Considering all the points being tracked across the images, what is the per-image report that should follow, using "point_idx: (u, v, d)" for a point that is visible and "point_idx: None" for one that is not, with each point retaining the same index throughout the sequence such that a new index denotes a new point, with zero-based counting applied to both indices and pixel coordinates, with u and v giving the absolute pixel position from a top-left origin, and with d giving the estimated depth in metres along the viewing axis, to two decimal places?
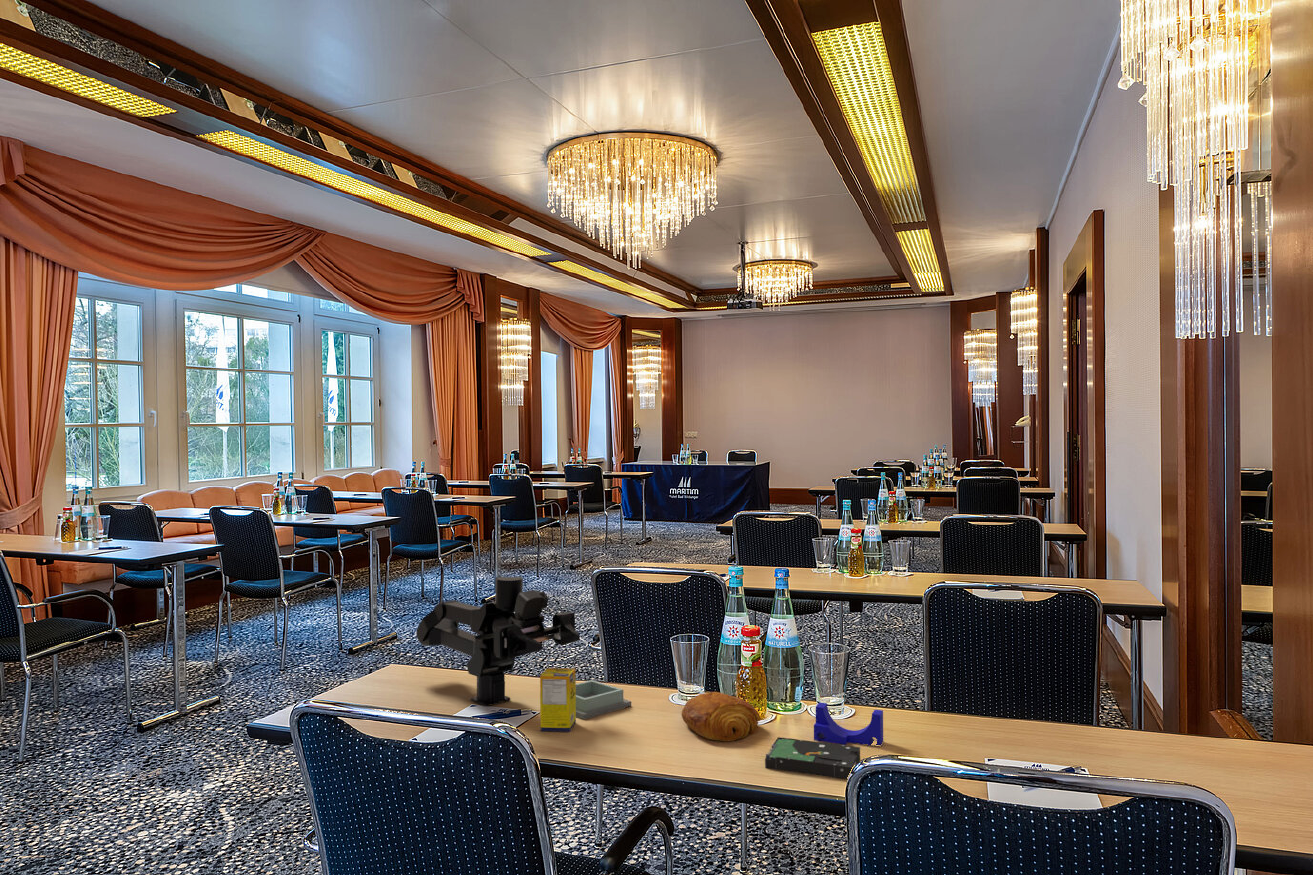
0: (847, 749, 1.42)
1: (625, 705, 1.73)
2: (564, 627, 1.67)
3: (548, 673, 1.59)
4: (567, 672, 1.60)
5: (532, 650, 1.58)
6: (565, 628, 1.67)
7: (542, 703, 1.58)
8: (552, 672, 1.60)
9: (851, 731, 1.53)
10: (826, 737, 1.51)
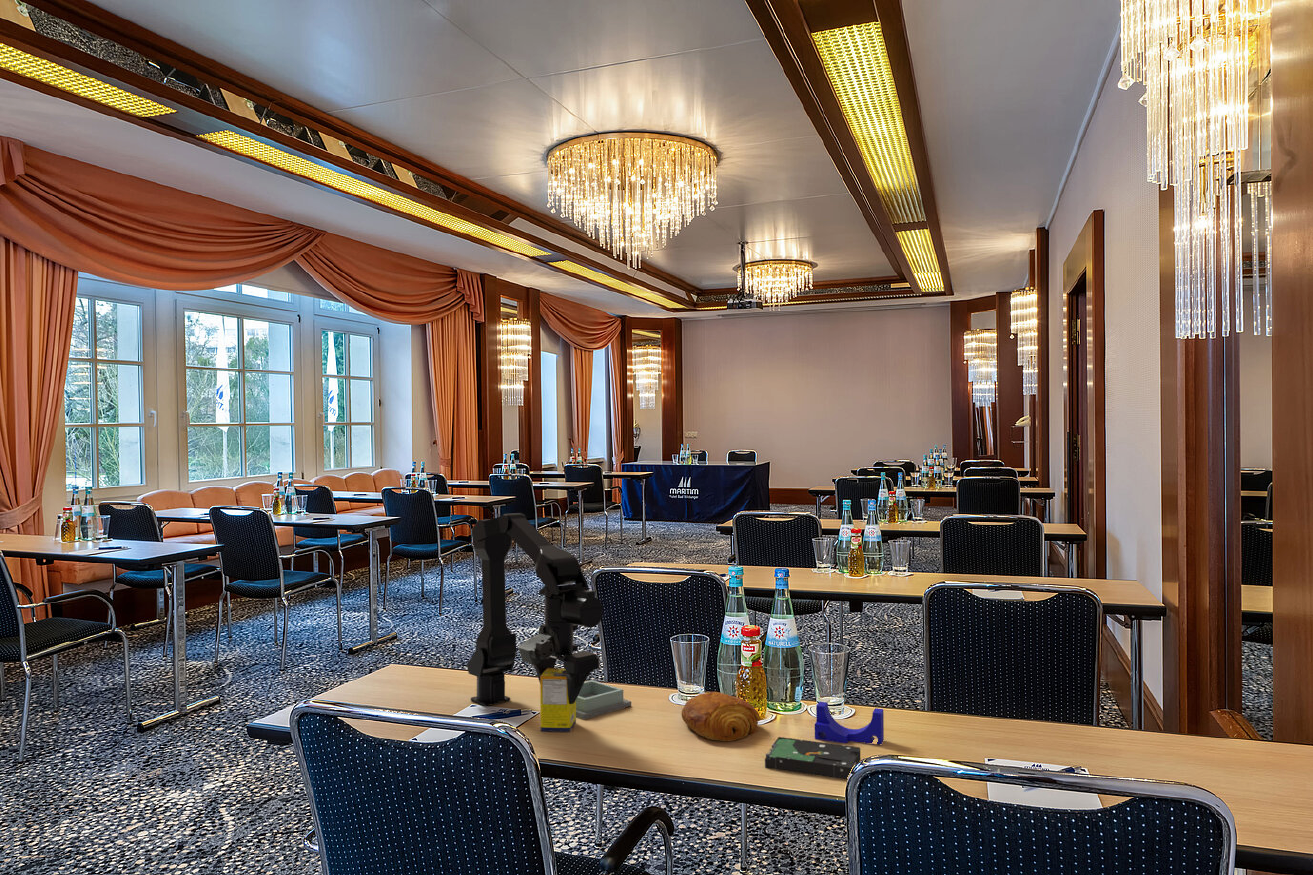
0: (847, 749, 1.41)
1: (625, 705, 1.73)
2: None
3: (548, 673, 1.59)
4: None
5: None
6: None
7: (542, 703, 1.58)
8: (552, 672, 1.60)
9: (852, 730, 1.54)
10: (827, 736, 1.52)
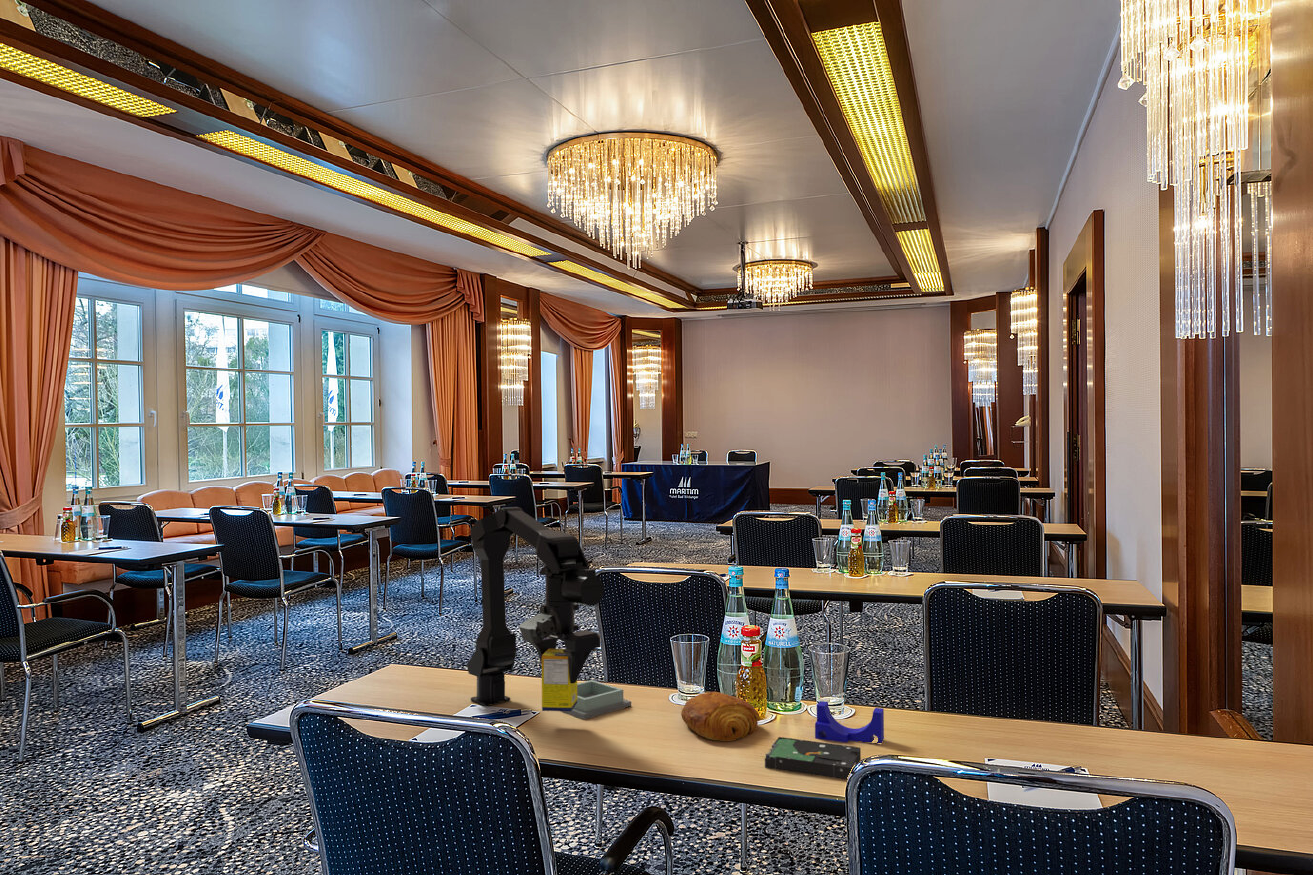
0: (848, 749, 1.41)
1: (625, 705, 1.73)
2: None
3: (549, 653, 1.59)
4: None
5: None
6: None
7: (543, 683, 1.58)
8: (553, 652, 1.60)
9: (852, 729, 1.54)
10: (827, 735, 1.53)
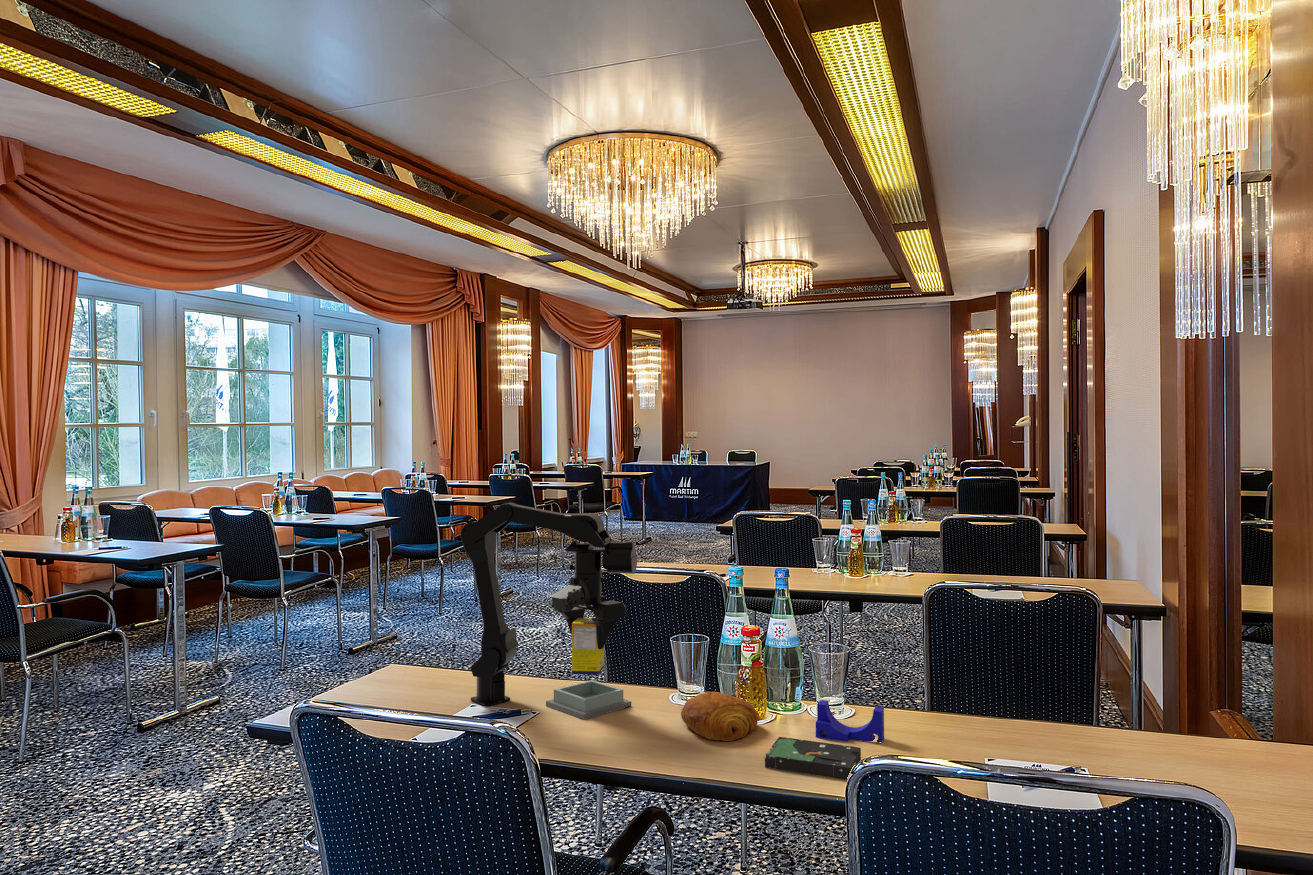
0: (848, 749, 1.41)
1: (625, 705, 1.73)
2: None
3: (579, 621, 1.73)
4: None
5: None
6: None
7: (573, 648, 1.72)
8: (582, 621, 1.74)
9: (852, 728, 1.55)
10: (828, 734, 1.53)
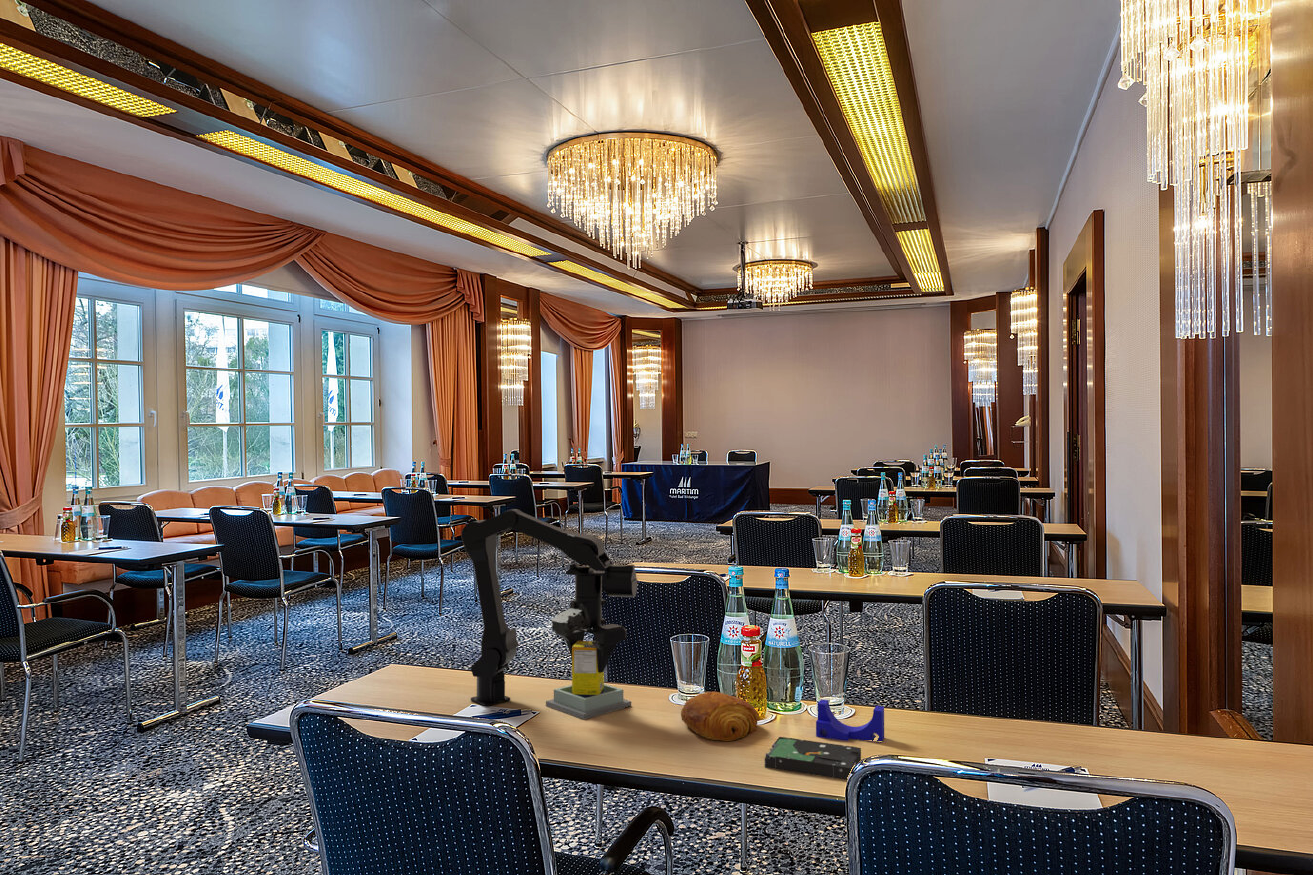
0: (848, 749, 1.41)
1: (625, 705, 1.73)
2: None
3: (579, 645, 1.73)
4: None
5: None
6: None
7: (574, 672, 1.72)
8: (583, 644, 1.74)
9: (852, 727, 1.55)
10: (828, 734, 1.53)
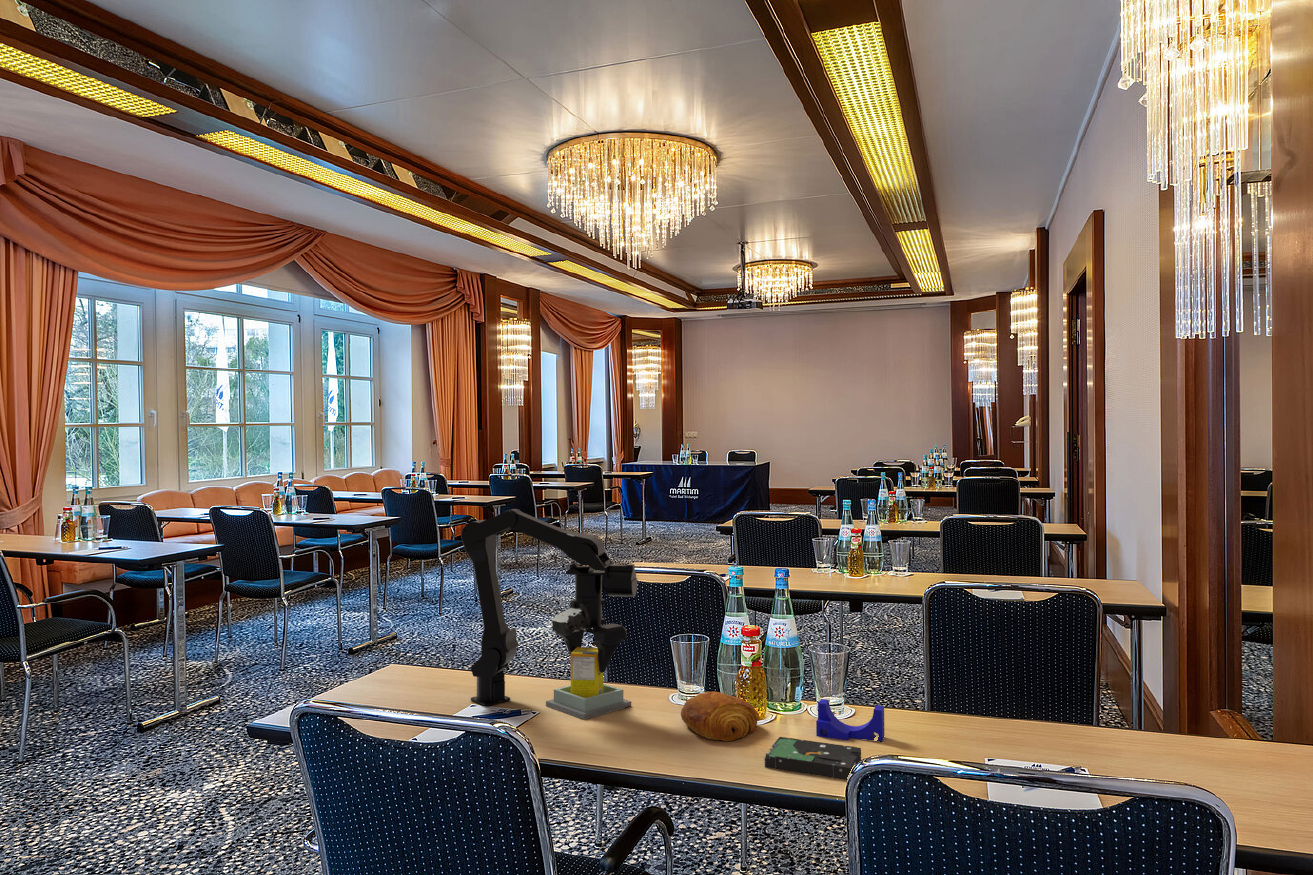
0: (848, 749, 1.41)
1: (625, 705, 1.73)
2: None
3: (578, 651, 1.73)
4: (595, 650, 1.74)
5: None
6: None
7: (572, 678, 1.72)
8: (581, 650, 1.74)
9: (853, 727, 1.56)
10: (829, 733, 1.54)
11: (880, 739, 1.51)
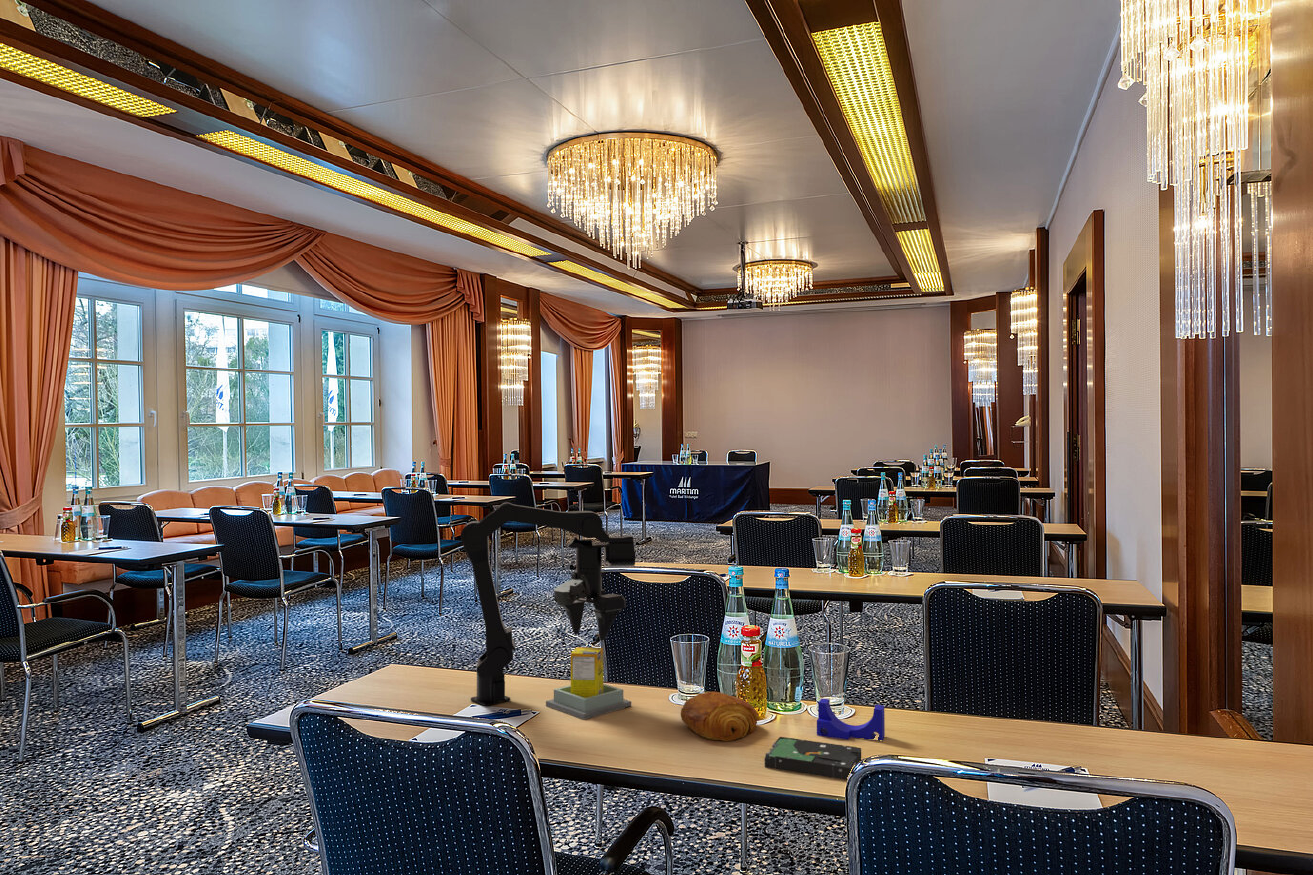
0: (848, 750, 1.41)
1: (625, 705, 1.73)
2: None
3: (578, 651, 1.73)
4: (595, 650, 1.74)
5: None
6: None
7: (572, 678, 1.72)
8: (581, 650, 1.74)
9: (853, 726, 1.56)
10: (829, 732, 1.54)
11: (880, 738, 1.52)
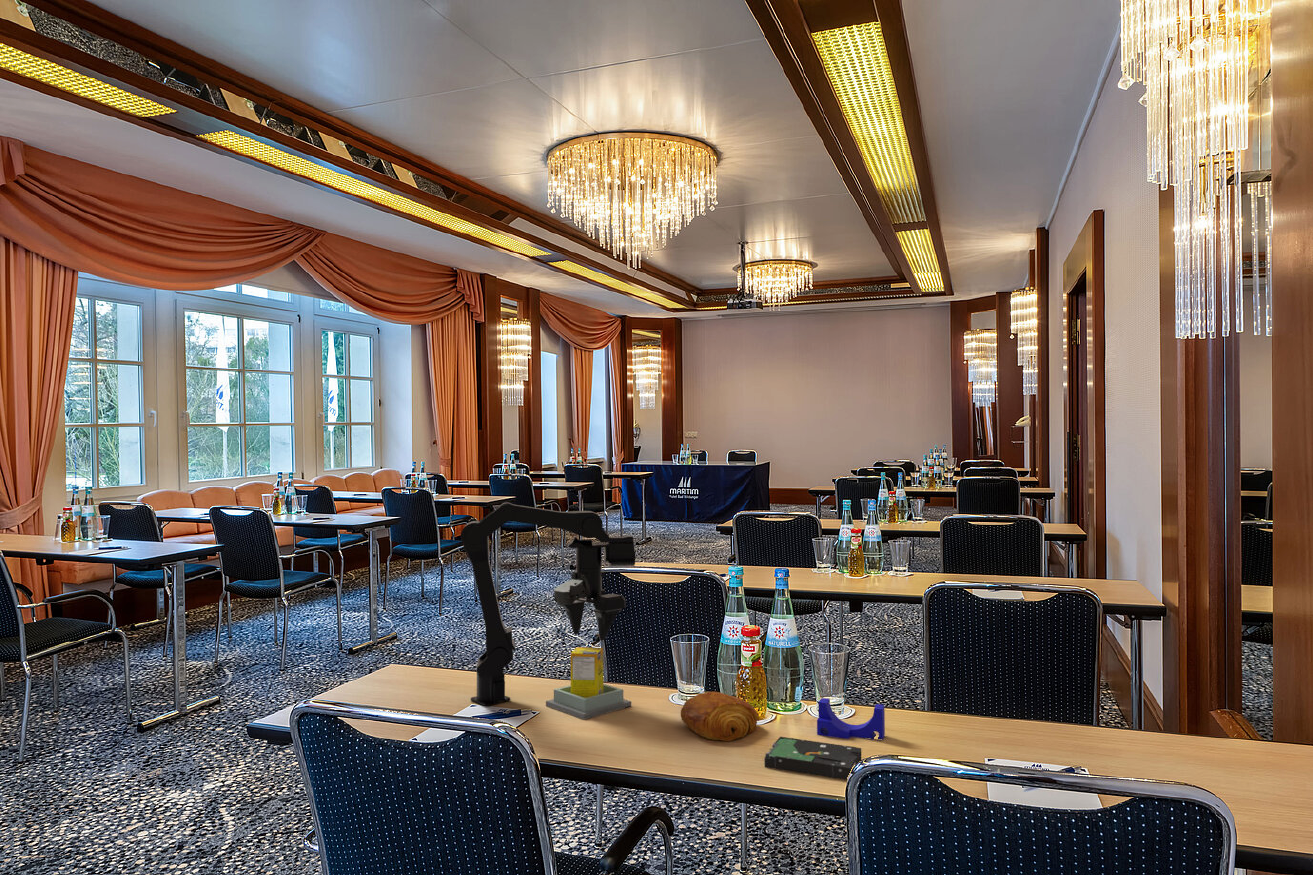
0: (848, 750, 1.41)
1: (625, 705, 1.73)
2: None
3: (578, 651, 1.73)
4: (595, 650, 1.74)
5: None
6: None
7: (572, 678, 1.72)
8: (581, 650, 1.74)
9: (853, 725, 1.57)
10: (829, 732, 1.55)
11: (880, 738, 1.52)
